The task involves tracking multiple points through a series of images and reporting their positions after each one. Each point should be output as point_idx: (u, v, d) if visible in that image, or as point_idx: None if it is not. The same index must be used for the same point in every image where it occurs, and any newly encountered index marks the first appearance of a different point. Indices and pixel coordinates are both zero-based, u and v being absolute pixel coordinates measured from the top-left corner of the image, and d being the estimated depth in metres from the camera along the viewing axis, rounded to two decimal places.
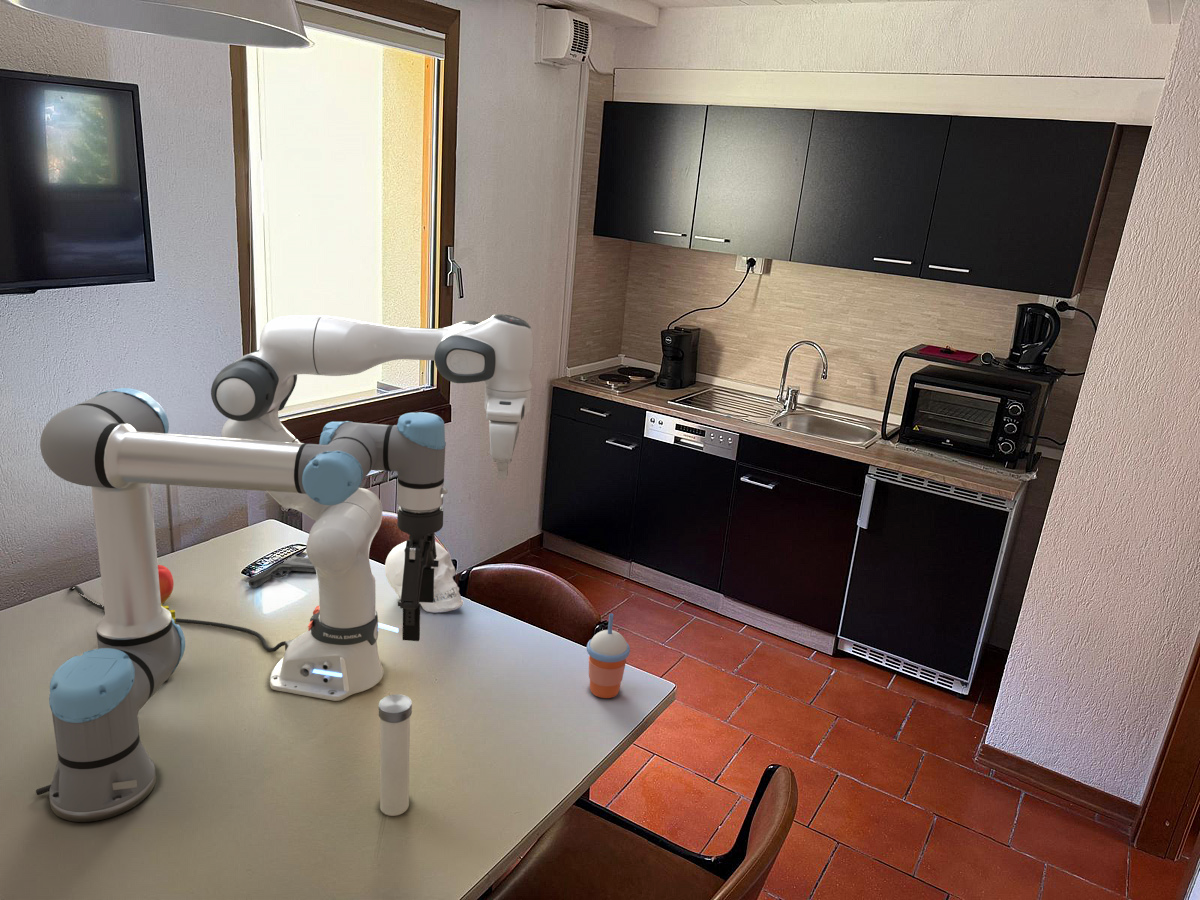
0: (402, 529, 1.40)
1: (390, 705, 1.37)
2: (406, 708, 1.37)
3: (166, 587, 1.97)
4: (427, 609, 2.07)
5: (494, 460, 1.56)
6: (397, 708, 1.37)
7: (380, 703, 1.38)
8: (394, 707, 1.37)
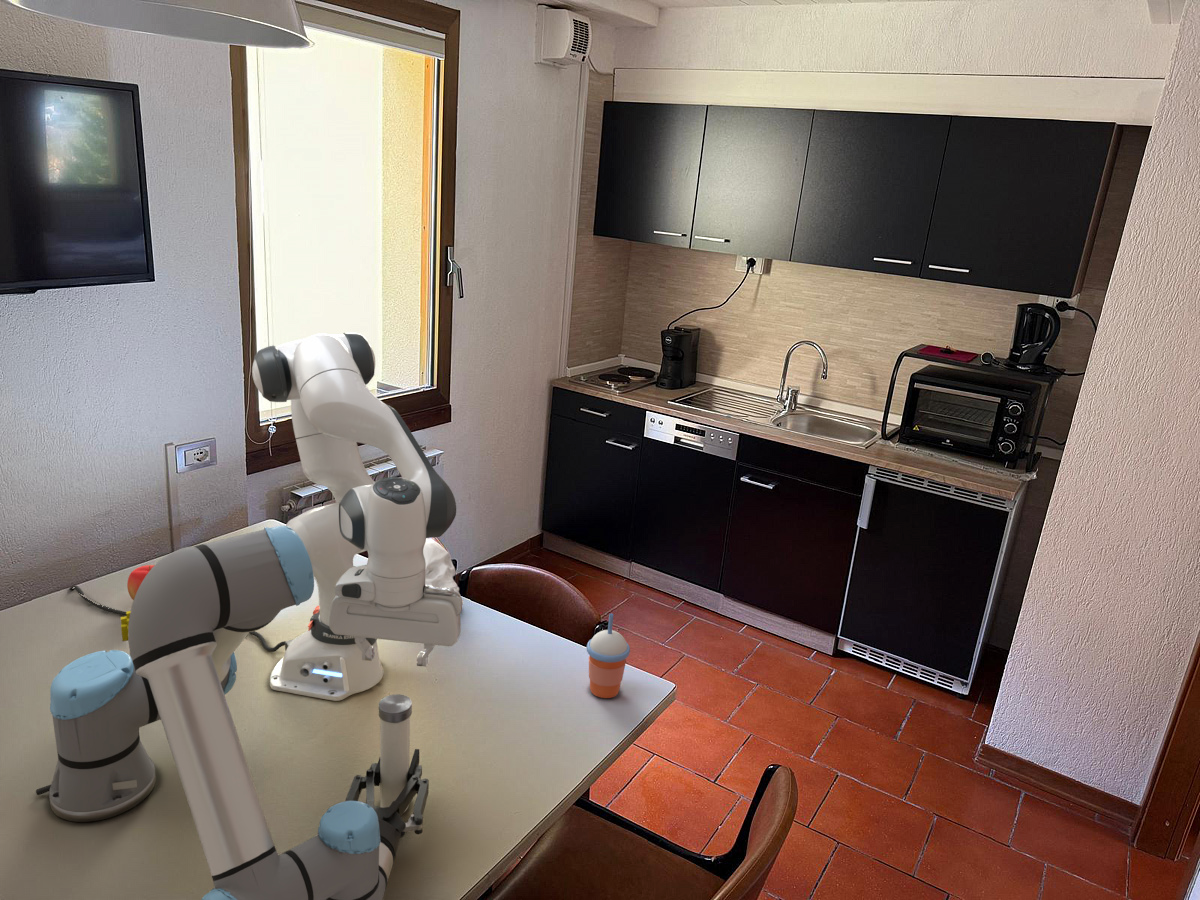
0: None
1: (390, 705, 1.37)
2: (406, 708, 1.37)
3: None
4: None
5: None
6: (397, 708, 1.37)
7: (380, 703, 1.38)
8: (394, 707, 1.37)
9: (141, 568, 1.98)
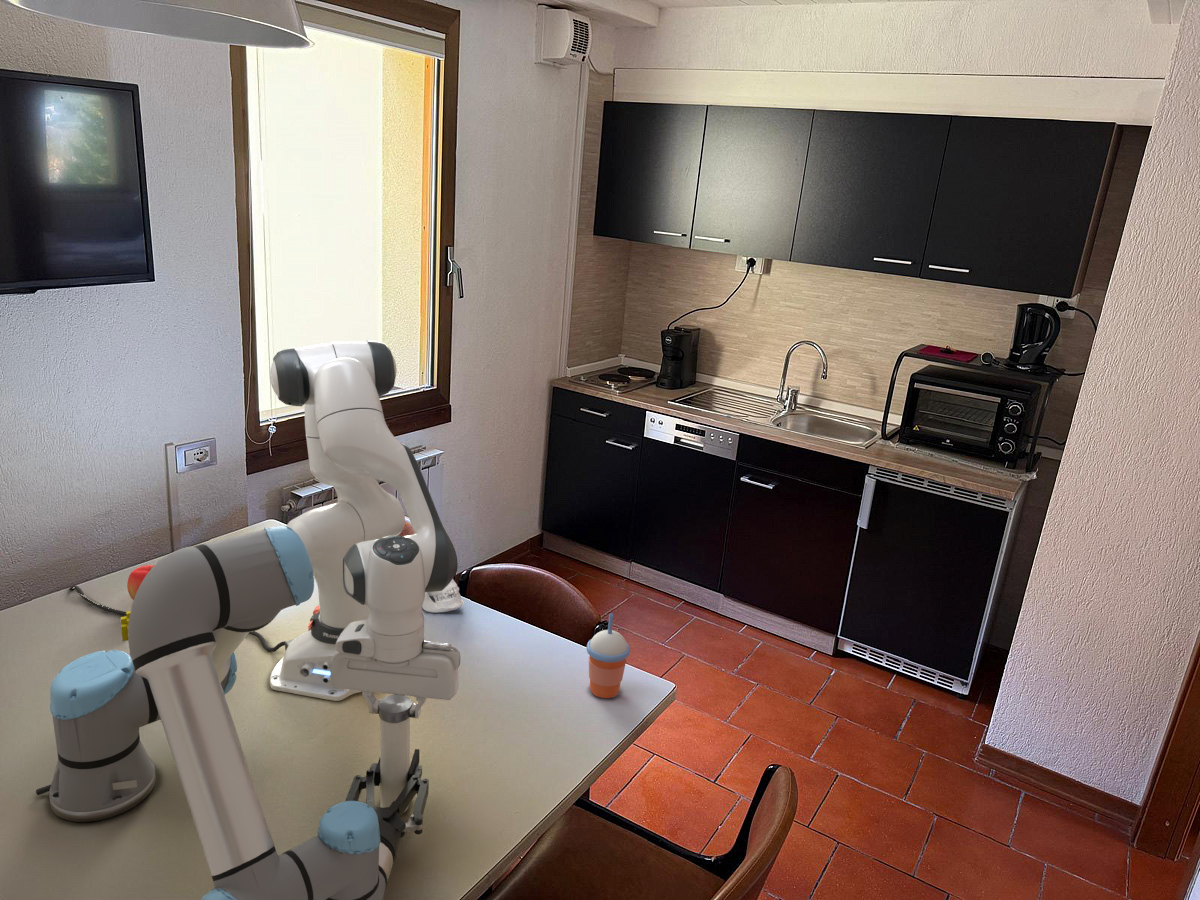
0: None
1: (390, 705, 1.37)
2: (406, 708, 1.37)
3: None
4: (427, 609, 2.07)
5: None
6: (397, 708, 1.37)
7: (380, 703, 1.38)
8: (394, 707, 1.37)
9: (141, 568, 1.98)
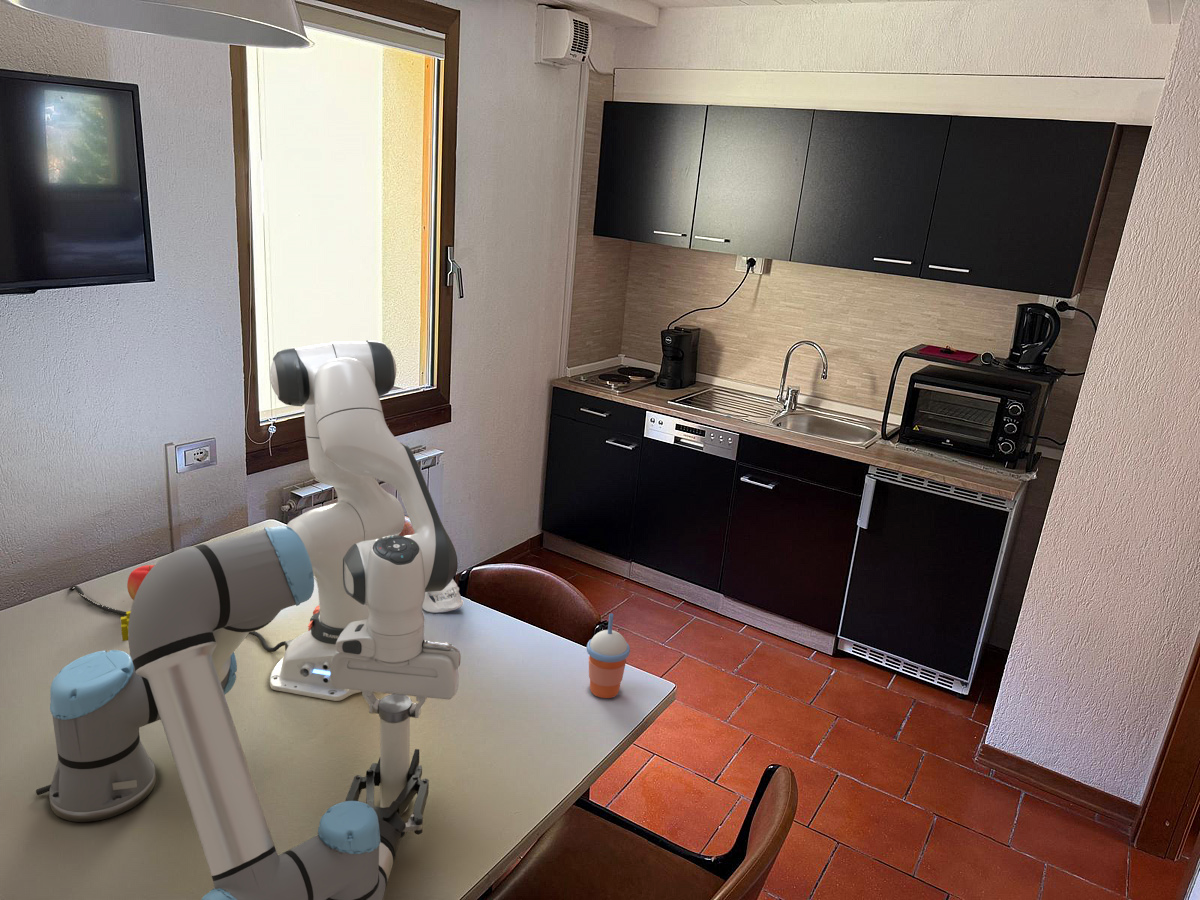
0: None
1: (396, 705, 1.37)
2: (407, 697, 1.39)
3: None
4: (427, 609, 2.07)
5: None
6: (404, 702, 1.38)
7: (389, 711, 1.36)
8: (401, 704, 1.38)
9: (141, 568, 1.98)
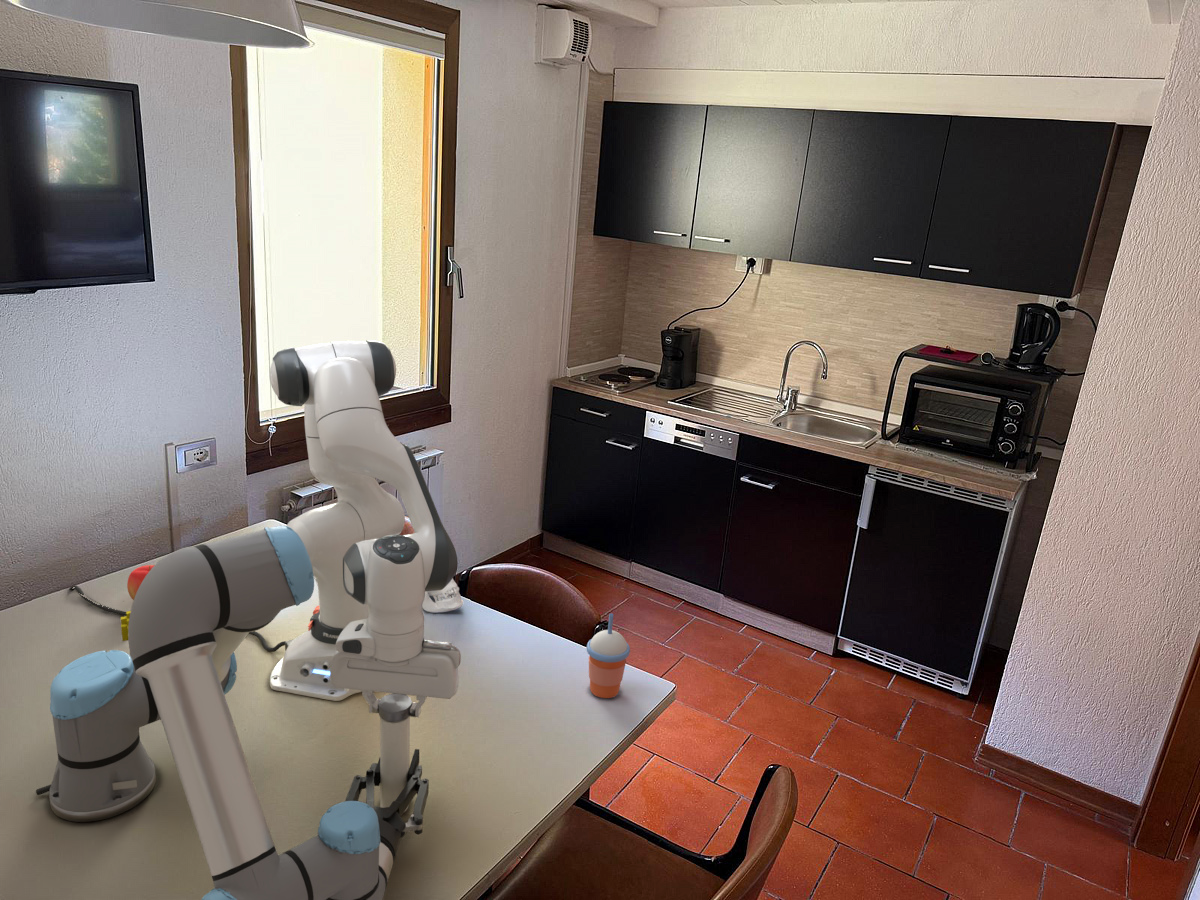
0: None
1: (400, 702, 1.38)
2: (391, 694, 1.40)
3: None
4: (427, 609, 2.07)
5: None
6: (398, 697, 1.39)
7: (407, 706, 1.37)
8: (399, 699, 1.39)
9: (141, 568, 1.98)
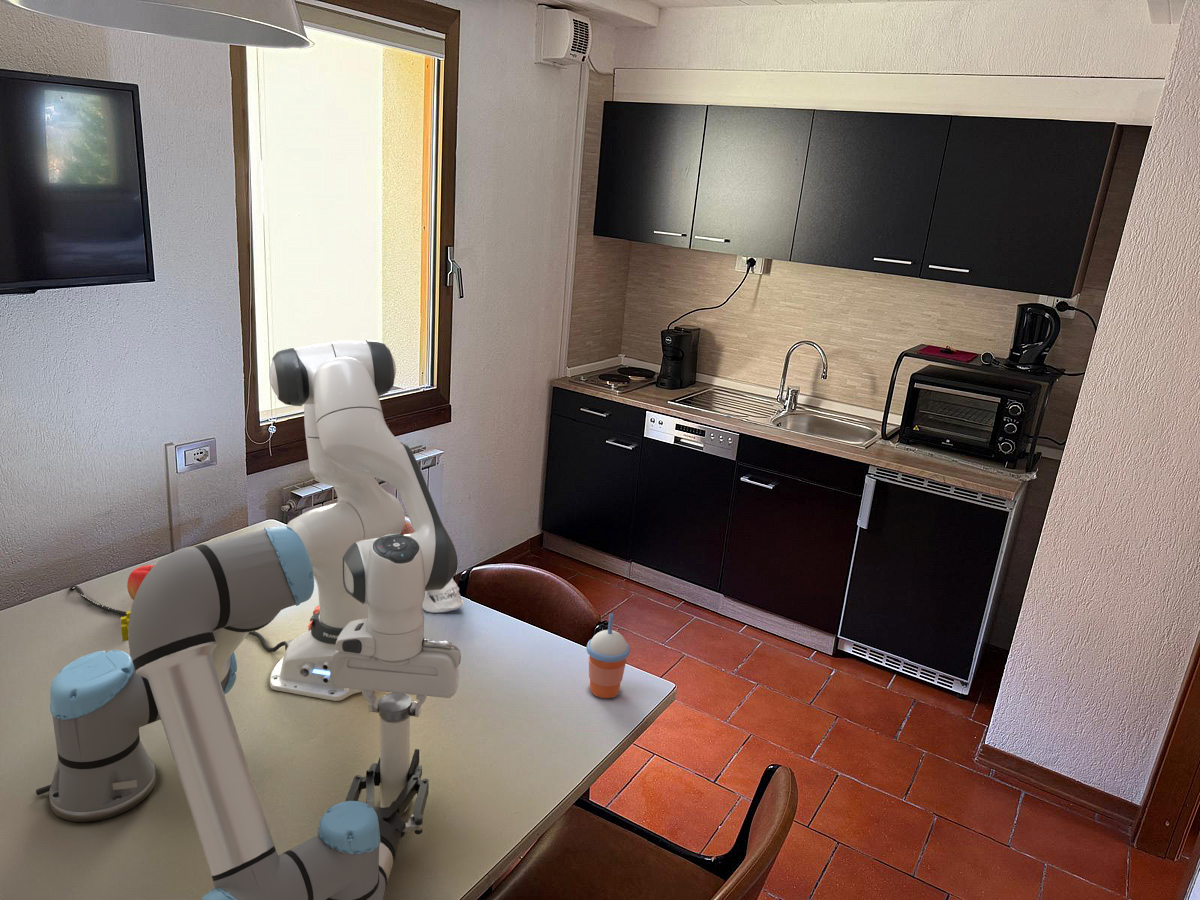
0: None
1: (396, 698, 1.39)
2: (380, 702, 1.37)
3: None
4: (427, 609, 2.07)
5: None
6: (387, 699, 1.38)
7: (407, 696, 1.39)
8: (391, 698, 1.38)
9: (141, 568, 1.98)
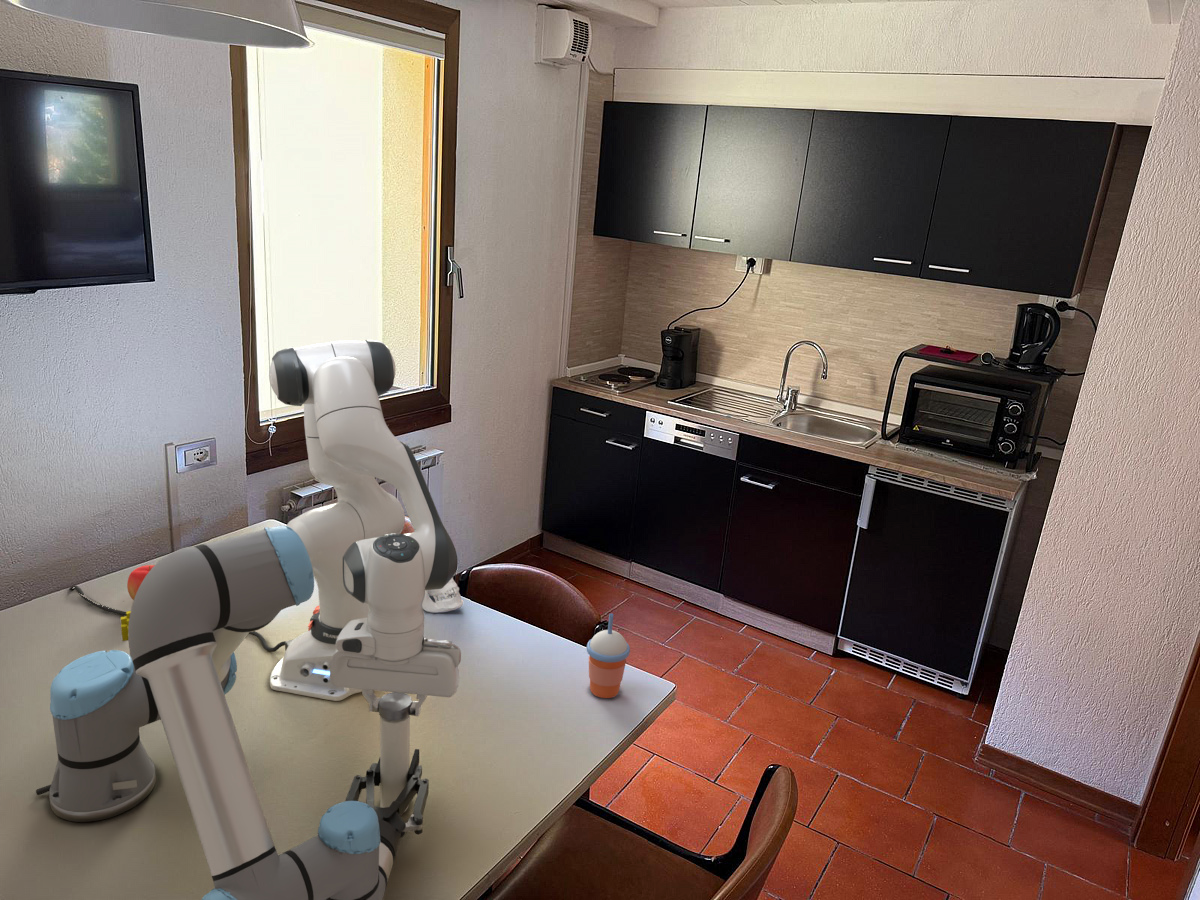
0: None
1: (390, 699, 1.38)
2: (390, 709, 1.36)
3: None
4: (427, 609, 2.07)
5: None
6: (387, 705, 1.37)
7: (390, 693, 1.40)
8: (388, 703, 1.37)
9: (141, 568, 1.98)
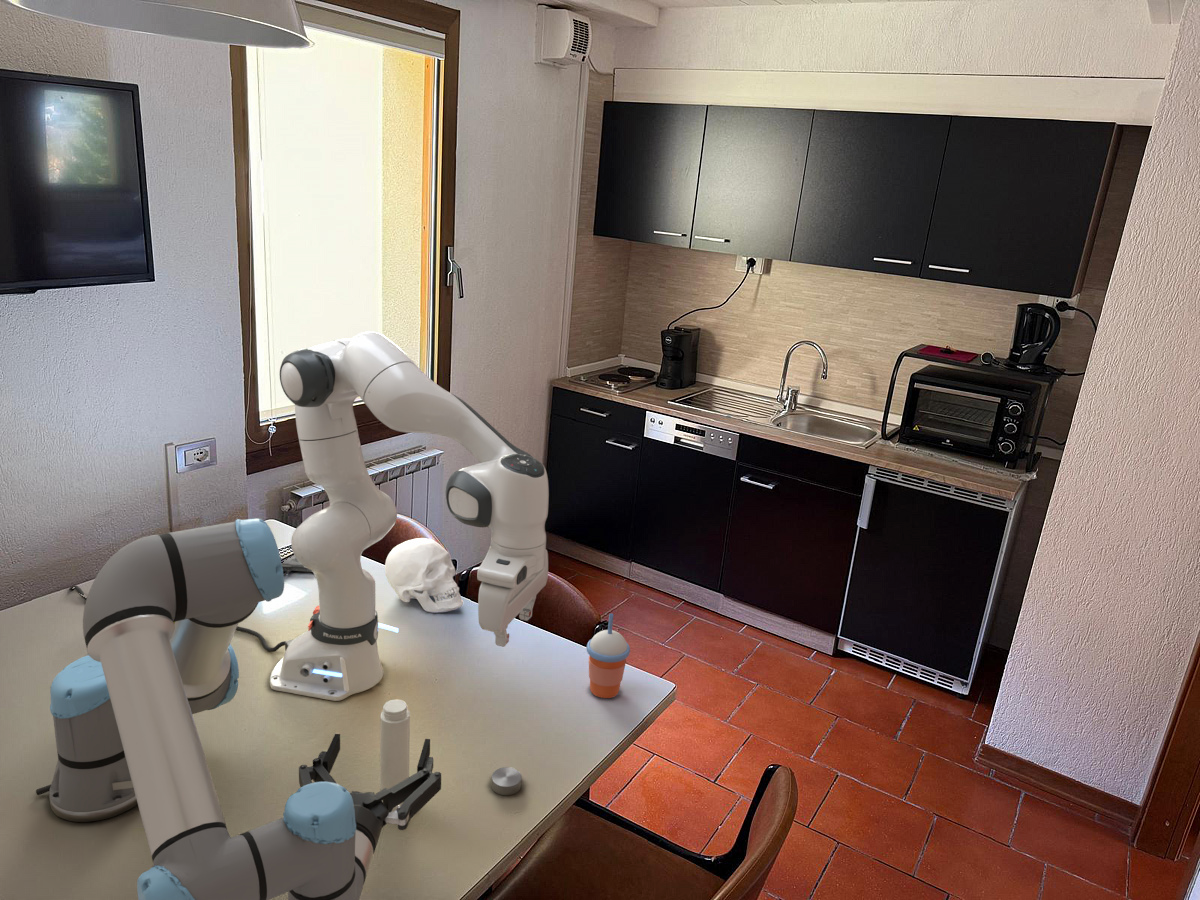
0: None
1: (503, 779, 1.50)
2: (518, 780, 1.50)
3: None
4: (427, 609, 2.07)
5: (482, 628, 1.32)
6: (510, 781, 1.49)
7: (493, 778, 1.50)
8: (507, 780, 1.49)
9: None
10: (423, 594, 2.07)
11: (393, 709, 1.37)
